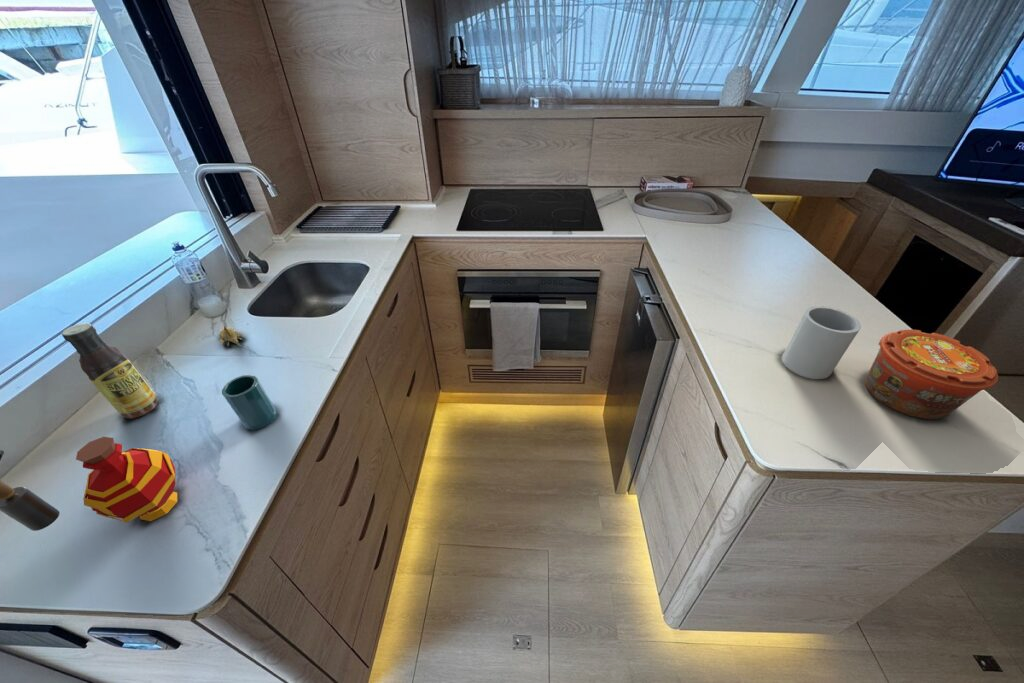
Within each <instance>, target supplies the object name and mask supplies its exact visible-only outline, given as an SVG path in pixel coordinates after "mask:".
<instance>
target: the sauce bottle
mask: <svg viewBox="0 0 1024 683" xmlns="http://www.w3.org/2000/svg"><path fill="white" fill-rule="evenodd" d="M61 336H62V338H63V339H64V340H65V341H66V342H68V343H70V344H71V346H72V347H73V348H74V349H75V351H76V353H77V354H78V355H79V359H78V362H79V365H80V368H81V370H82V372H83V373H85V374H86V376H87V378H88V379H89V381H90V382H91V383H92V384H93V386H95V388H97V390H98V391H99V392H100V393H101V394H102V396H103V397H104V398H105V399H106V401H108V402H109V404H110V405H111V407H113V408H114V409H115V410H116V412H117V413H119V414H120V415H121V416H122V417H124V418H126V419H128V420H129V419H136V418H140V417H142V416H145V415H146V414H149V413H150V412H152V411H153V410H154V409H155V408H156V406H157V405H158V404H159V400H158V397H157V396H156V393H155V392H154V391H153V389H152V388H151V387H150V385H149V384H148V383H147V382H146V380H145V379H144V377H143V376H142V375H141V374H140V372H139V371H138V370H137V368H136V367H135V366H134V365H133V363H132V362H131V361H130V360H129V359H128V357H126V356H125V354H124V353H123V352H122V351H121V350H120V349H119V348H117V347H116V346H113V345H111V344H107V343H106V342H105V340H104V339H102V337H101V336H100V335H99V333H98V332H97V329H96V328H95V326H93V324H92V323H90V322H82V323H78V324H74V325H72V326H69V327H67V328H66V329H64V330H63V331H62V332H61Z"/></svg>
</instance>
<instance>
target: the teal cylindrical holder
mask: <svg viewBox="0 0 1024 683" xmlns="http://www.w3.org/2000/svg"><path fill="white" fill-rule="evenodd" d="M221 395H222V397H223V398H224V400H225V401H226V402H227V404H228V405H229V406H230V408H231V409H232V411H233V412H234V414H235V415H236V416H237V418H238V419H239V421H240V422H241V423H242V425H243V426H244V428H245V429H247V430H251V431H257V430H260V429H263V428H266V427H267V426H269V425H270V424H272V423H273V421H275V419H276V417H277V415H278V411H277V409H276V408H275V406H274V404H273V402H272V400H271V399H270V397H269V395H268V394H267V392H266V390H265V389H264V386H262V383H261V382H260V380H259V378H258V377H257V376H255V375H252V374H243V375H239V376H237V377H235V378H233V379H231V380H230V381H228V382H226V383H225V385H224V386H223V387H222V389H221Z"/></svg>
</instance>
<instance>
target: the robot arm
mask: <svg viewBox="0 0 1024 683" xmlns="http://www.w3.org/2000/svg"><path fill="white" fill-rule="evenodd" d="M4 454H5V451H4V450H2V449H0V461H1V460H2V458H3V456H4Z"/></svg>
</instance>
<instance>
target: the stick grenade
mask: <svg viewBox="0 0 1024 683" xmlns="http://www.w3.org/2000/svg"><path fill="white" fill-rule="evenodd" d="M0 512H2V514H3V513H4V514H5V515H7V516H8V517H9V518H11V519H13V520H14V521H16V522H18V523H19V524H21V525H23V526H24V527H26V528H27V529H29V530H31V531H33V532H37V531H38V532H39V531H40V530H44V529H46V528H47V527H50V526H51V525H52V524H53V523H55V521H56V520H57V519H58V518H59V516H60V510H58V508H55V507H54V506H53V505H51V504H50V503H48V502H47V501H45V500H44V499H43V498H41V497H40V496H38V495H37V494H36V493H34V492H32V491H31V490H30V489H29V488H27V487H25V486H17V487H12V486H9V485H8V484H6V483H5V482H4V481H2V480H0Z"/></svg>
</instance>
